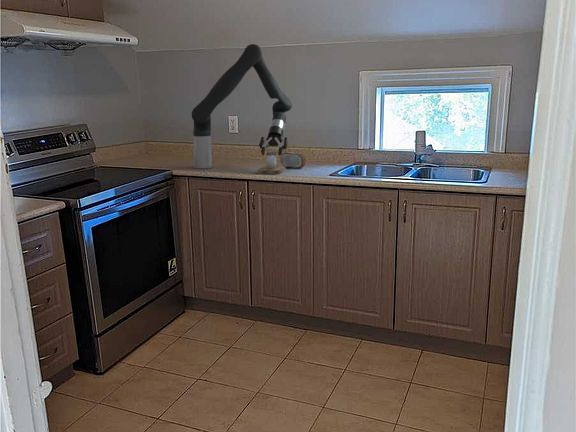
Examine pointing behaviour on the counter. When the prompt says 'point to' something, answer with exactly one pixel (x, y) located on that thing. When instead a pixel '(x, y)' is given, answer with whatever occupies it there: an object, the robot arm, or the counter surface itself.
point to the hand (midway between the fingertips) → (271, 154)
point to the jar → (271, 160)
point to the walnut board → (271, 170)
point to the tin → (292, 160)
